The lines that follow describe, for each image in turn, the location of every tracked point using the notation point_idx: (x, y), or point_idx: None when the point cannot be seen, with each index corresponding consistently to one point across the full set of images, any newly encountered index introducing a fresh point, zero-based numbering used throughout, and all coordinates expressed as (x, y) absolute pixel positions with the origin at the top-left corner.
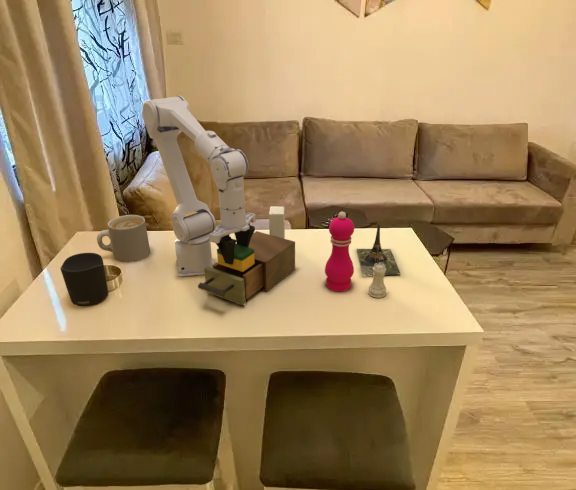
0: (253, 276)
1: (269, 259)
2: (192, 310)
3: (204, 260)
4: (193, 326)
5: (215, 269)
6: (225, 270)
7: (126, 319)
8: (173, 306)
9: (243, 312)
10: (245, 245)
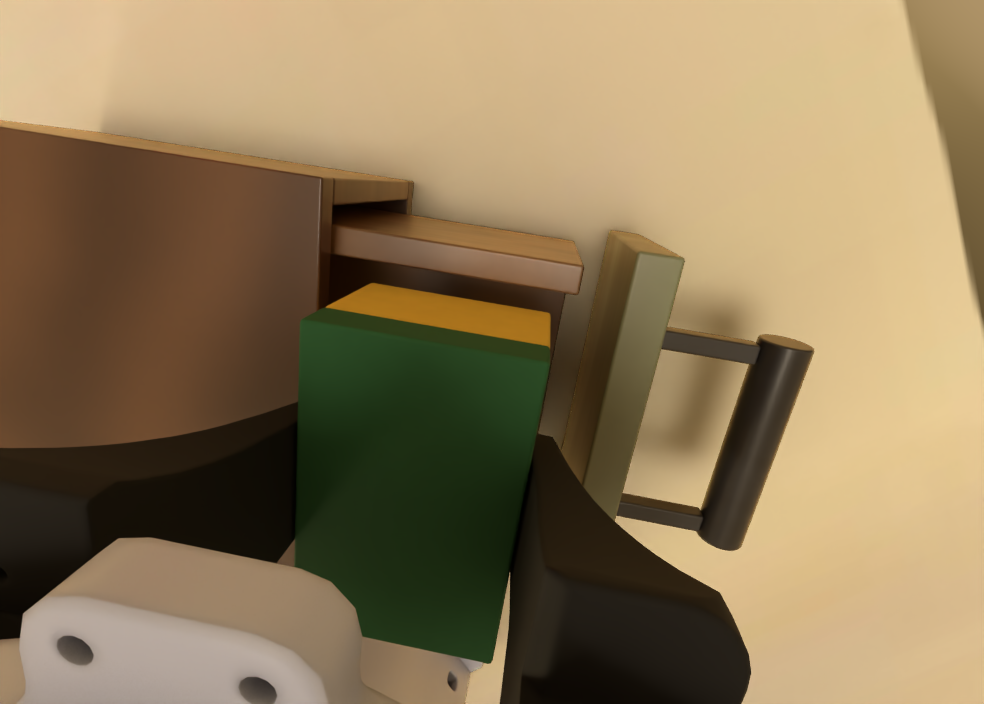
0: (477, 240)
1: (254, 170)
2: None
3: None
4: (891, 402)
5: None
6: None
7: (899, 695)
8: (734, 571)
9: (675, 208)
10: (286, 445)
